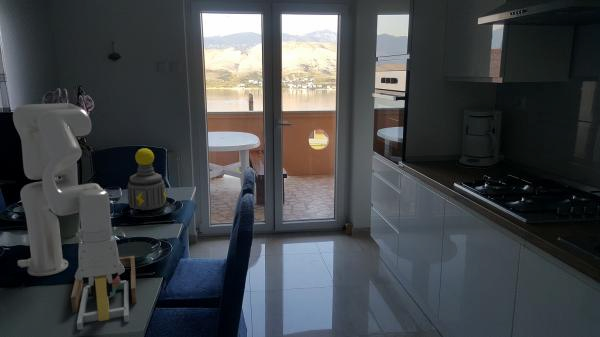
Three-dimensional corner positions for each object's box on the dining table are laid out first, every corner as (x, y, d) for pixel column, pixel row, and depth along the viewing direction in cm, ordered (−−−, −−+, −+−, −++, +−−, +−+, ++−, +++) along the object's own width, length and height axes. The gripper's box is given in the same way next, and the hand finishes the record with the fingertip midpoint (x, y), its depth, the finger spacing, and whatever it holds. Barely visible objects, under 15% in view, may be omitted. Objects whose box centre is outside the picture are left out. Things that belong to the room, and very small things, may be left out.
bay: (72, 312, 133) (70, 297, 132) (80, 276, 156) (79, 262, 155) (136, 302, 139) (135, 287, 138) (135, 269, 162) (134, 255, 161)
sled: (77, 330, 124) (72, 286, 121) (84, 292, 145) (80, 254, 142) (128, 321, 129) (125, 279, 126) (128, 286, 149) (125, 249, 146)
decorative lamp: (160, 211, 226) (156, 152, 220) (122, 210, 226) (118, 151, 220) (171, 200, 244) (168, 145, 238) (136, 199, 245) (132, 144, 238)
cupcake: (103, 304, 138) (100, 267, 135) (86, 297, 142) (82, 261, 139) (127, 292, 145) (124, 257, 142) (109, 286, 149) (106, 252, 146)
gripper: (62, 242, 119) (68, 306, 123) (128, 235, 124) (132, 297, 128) (65, 233, 125) (71, 293, 129) (128, 226, 131) (132, 285, 135)
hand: (102, 294), depth 129 cm, fingers closed on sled, 2 cm apart
